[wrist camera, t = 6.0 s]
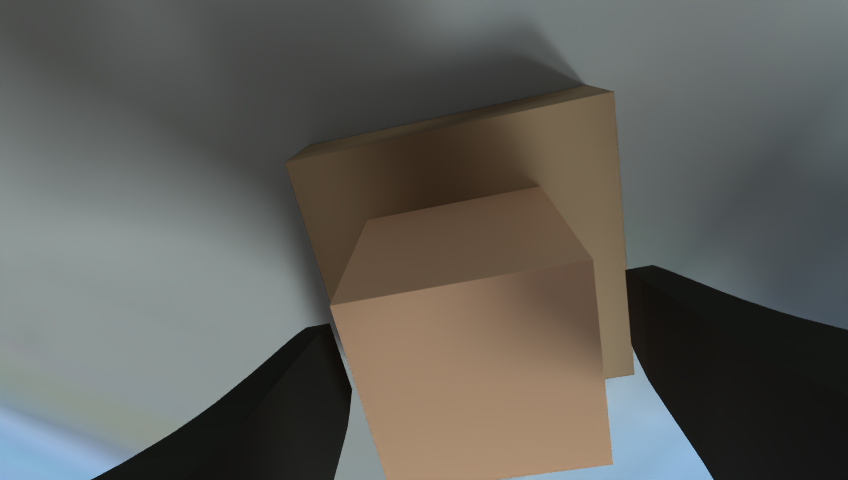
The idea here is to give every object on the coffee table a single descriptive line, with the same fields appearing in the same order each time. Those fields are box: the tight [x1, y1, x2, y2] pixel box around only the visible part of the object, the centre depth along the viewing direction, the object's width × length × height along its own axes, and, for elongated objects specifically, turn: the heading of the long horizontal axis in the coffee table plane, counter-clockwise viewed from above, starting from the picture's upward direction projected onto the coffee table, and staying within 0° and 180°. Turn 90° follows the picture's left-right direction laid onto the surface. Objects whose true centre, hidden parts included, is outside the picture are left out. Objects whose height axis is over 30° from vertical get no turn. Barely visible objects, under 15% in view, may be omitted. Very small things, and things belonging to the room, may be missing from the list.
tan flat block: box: [285, 85, 634, 379], centre depth 16 cm, size 9×9×3 cm
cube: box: [330, 186, 613, 480], centre depth 12 cm, size 5×5×5 cm
